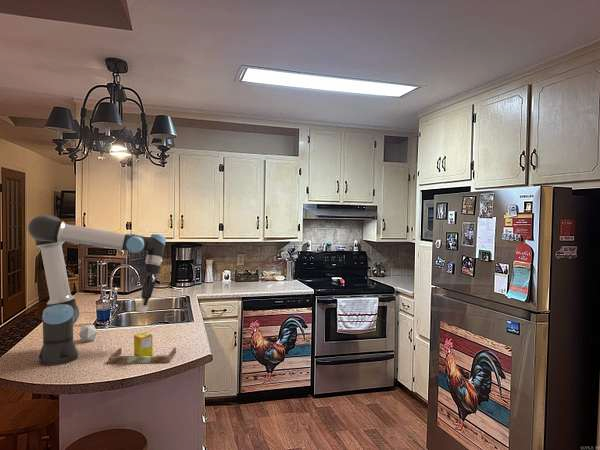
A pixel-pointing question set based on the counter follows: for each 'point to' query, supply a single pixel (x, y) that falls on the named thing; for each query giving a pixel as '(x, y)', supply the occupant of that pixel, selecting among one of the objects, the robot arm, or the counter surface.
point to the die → (88, 333)
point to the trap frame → (140, 358)
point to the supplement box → (143, 345)
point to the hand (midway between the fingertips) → (142, 312)
